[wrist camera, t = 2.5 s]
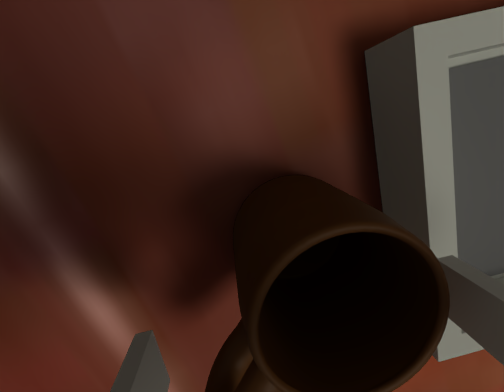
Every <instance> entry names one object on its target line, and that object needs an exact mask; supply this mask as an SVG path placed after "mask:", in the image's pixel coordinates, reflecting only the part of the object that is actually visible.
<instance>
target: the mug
mask: <svg viewBox="0 0 504 392" xmlns="http://www.w3.org/2000/svg"><path fill="white" fill-rule="evenodd" d="M233 246H234V256H235V270H236V279H237V289H238V298H239V306H240V312H241V316H242V318H241V320H240V322H239V323H238V325H237V326H236V328H235V329H234V330H233V332H232V333H231V334H230V335H229V337H228V338H227V340H226V341H225V343H224V344H223V346H222V348H221V349H220V351H219V353H218V355H217V357H216V359H215V361H214V364H213V366H212V369H211V371H210V374H209V377H208V381H207V385H206V389H205V392H392V391H393V390H395V389H397V388H398V387H400V386H401V385H403V384H404V383H405V382H407V381H408V380H409V379H411V378H412V377H413V376H414V375H415V374H416V373H417V372H418V371H419V370H420V369H421V368H422V367H423V366H424V365H425V364H426V363H427V361H428V360H429V359H430V357H431V356H432V354H433V353H434V352H435V350H436V348H437V346H438V344H439V343H440V341H441V339H442V336H443V334H444V331H445V328H446V325H447V321H448V316H449V309H450V294H449V287H448V282H447V279H446V276H445V273H444V270H443V268H442V266H441V264H440V262H439V260H438V259H437V257H436V256H435V254H434V253H433V252H432V250H431V249H430V248H429V247H428V246H427V245H426V244H425V243H424V242H423V241H422V240H421V239H419V238H418V237H417V236H415V235H414V234H412V233H411V232H410V231H408V230H407V229H405V228H404V227H403V226H401V225H400V224H399V223H397V222H396V221H395V220H393V219H392V218H390V217H389V216H387V215H386V214H384V213H382V212H381V211H379V210H377V209H375V208H373V207H371V206H370V205H368V204H366V203H364V202H362V201H360V200H358V199H357V198H355V197H353V196H351V195H349V194H347V193H345V192H343V191H342V190H339V189H337V188H335V187H333V186H332V185H330V184H328V183H326V182H324V181H322V180H319V179H316V178H313V177H309V176H305V175H288V176H283V177H278V178H275V179H272V180H270V181H268V182H266V183H264V184H263V185H261V186H260V187H258V188H257V189H256V190H254V191H253V192H252V193H251V194H250V195H249V196H248V198H247V199H246V200H245V202H244V203H243V204H242V206H241V208H240V210H239V212H238V214H237V217H236V220H235V224H234V231H233Z"/></svg>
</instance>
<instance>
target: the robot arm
mask: <svg viewBox="0 0 504 392" xmlns="http://www.w3.org/2000/svg"><path fill="white" fill-rule="evenodd" d="M437 259H438V260H439V262H440V264H441V266H442V268H443V270H444V273H445V276H446V279H447V282H448V287H449V294H450V309H449V316H448V318H449V319H450V320H451V321H453V322H454V323H455V324H456V325H457V326H458V327H460V328H461V329H462V330H463V331H464V332H465V333H467V334H468V335H469V336H470V337H471V338H472V339H474V340H475V341H476V342H477V343H478V344H479V345H481V346H482V347H483V348H484V349H485V350H486V351H488V352H489V353H490V354H491V355H492V356H493V357H495V358H496V359H497V360H498V361H499V362H500V363H502V364H503V365H504V284H502V283H501V282H499V281H497V280H495V279H494V278H492V277H490V276H488V275H487V274H485V273H483V272H481V271H480V270H478V269H476V268H474V267H472V266H471V265H469V264H467V263H465V262H464V261H462V260H460V259H458V258H457V257H455V256H453V255H449V256H445V257H441V258H437ZM169 383H170V378H169V375H168V373H167V370H166V367H165V364H164V361H163V359H162V356H161V353H160V350H159V347H158V344H157V342H156V339H155V336H154V333H153V330H150V331H146V332H142V333H138V334H135V336H134V338H133V341H132V343H131V345H130V347H129V350H128V352H127V354H126V357H125V359H124V361H123V363H122V366H121V368H120V370H119V373H118V375H117V377H116V379H115V382H114V384H113V386H112V389H111V391H110V392H168V387H169Z"/></svg>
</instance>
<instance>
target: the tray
mask: <svg viewBox="0 0 504 392" xmlns="http://www.w3.org/2000/svg"><path fill="white" fill-rule="evenodd" d="M364 52H365V61H366V69H367V78H368V87H369V96H370V104H371V113H372V122H373V130H374V139H375V148H376V156H377V165H378V174H379V183H380V191H381V200H382V209H383V213H384V214H386V215H387V216H389V217H390V218H392V219H393V220H395V221H396V222H397V223H399V224H400V225H401V226H403V227H404V228H405V229H407V230H408V231H410V232H411V233H412V234H414V235H415V236H417V237H418V238H419V239H421V240H422V241H423V242H424V243H425V244H426V245H427V246H428V247H429V248H430V249H431V250H432V252H433V253H434V254H435V256H436V257H437V258H441V257H445V256H449V255H453V256H455V257H457V258H458V259H460V260H462V261H464V262H465V263H467V264H469V265H471V266H472V267H474V268H476V269H478V270H480V271H481V272H483V273H485V274H487V275H488V276H490V277H492V278H494V279H495V280H497V281H499V282H501V283H502V284H504V6H503V7H498V8H494V9H489V10H485V11H480V12H476V13H471V14H467V15H462V16H458V17H453V18H448V19H444V20H439V21H435V22H430V23H426V24H421V25H417V26H413V27H411V28H409V29H407V30H405V31H403V32H401V33H399V34H397V35H395V36H393V37H391V38H389V39H387V40H385V41H383V42H381V43H379V44H378V45H376V46H374V47H372V48H370V49H368V50H366V51H364ZM483 349H484V348H483V347H482V346H481V345H479V344H478V343H477V342H476V341H475V340H474V339H472V338H471V337H470V336H469V335H468V334H467V333H465V332H464V331H463V330H462V329H461V328H460V327H458V326H457V325H456V324H455V323H454V322H453V321H451V320H450V319H449V318H448V321H447V325H446V328H445V331H444V334H443V336H442V339H441V341H440V343H439V344H438V346H437V348H436V350H435V352H434V353H433V354H432V355H433V356H434V357H435V359H436V360H437V361H438V362H440V361H443V360H447V359H450V358H454V357H458V356H461V355H465V354H468V353H472V352H476V351H479V350H483Z"/></svg>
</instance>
